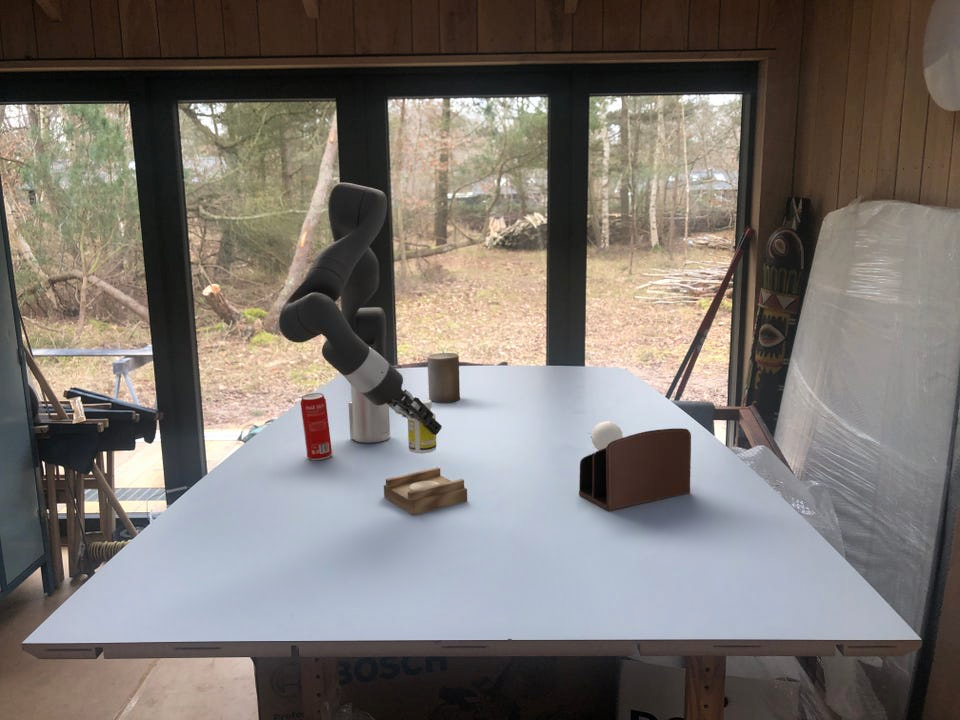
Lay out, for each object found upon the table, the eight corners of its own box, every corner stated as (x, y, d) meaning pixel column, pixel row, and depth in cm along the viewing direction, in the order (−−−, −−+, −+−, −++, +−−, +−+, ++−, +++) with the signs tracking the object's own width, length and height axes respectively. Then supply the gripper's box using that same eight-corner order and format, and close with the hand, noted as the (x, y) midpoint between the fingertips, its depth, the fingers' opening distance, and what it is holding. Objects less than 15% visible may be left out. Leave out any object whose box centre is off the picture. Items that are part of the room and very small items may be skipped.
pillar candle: (466, 397, 234) (465, 349, 232) (448, 404, 226) (446, 355, 224) (440, 394, 240) (439, 347, 237) (422, 401, 231) (420, 352, 229)
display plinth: (413, 515, 142) (412, 495, 141) (384, 496, 151) (383, 477, 151) (467, 501, 148) (466, 481, 147) (435, 484, 158) (435, 465, 157)
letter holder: (691, 494, 150) (693, 424, 147) (608, 512, 141) (608, 439, 139) (658, 479, 158) (659, 413, 156) (578, 496, 150) (578, 427, 147)
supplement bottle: (440, 447, 149) (439, 398, 148) (429, 455, 144) (428, 405, 143) (415, 445, 151) (414, 397, 149) (404, 452, 146) (402, 403, 144)
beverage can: (336, 454, 180) (333, 392, 177) (320, 462, 174) (316, 399, 171) (316, 452, 182) (312, 391, 180) (299, 459, 177) (294, 397, 174)
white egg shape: (629, 451, 177) (629, 420, 176) (611, 459, 172) (611, 427, 170) (593, 443, 184) (593, 414, 183) (575, 450, 179) (575, 420, 177)
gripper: (403, 364, 135) (461, 419, 143) (367, 354, 146) (423, 405, 155) (377, 398, 133) (438, 451, 141) (343, 384, 144) (401, 435, 153)
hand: (430, 427), depth 148 cm, fingers closed on supplement bottle, 5 cm apart
